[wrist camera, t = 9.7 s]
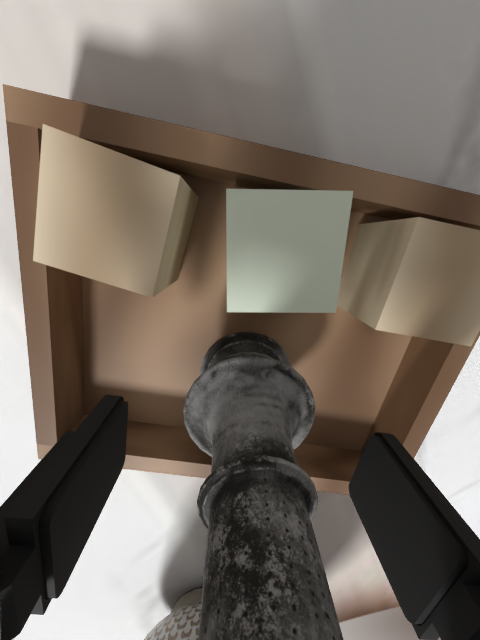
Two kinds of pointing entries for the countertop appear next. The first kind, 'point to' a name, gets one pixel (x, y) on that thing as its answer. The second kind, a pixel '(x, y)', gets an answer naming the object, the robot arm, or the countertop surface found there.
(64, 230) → the cube
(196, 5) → the countertop surface
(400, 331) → the cube
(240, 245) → the cube
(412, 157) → the countertop surface
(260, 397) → the salt shaker
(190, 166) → the tray
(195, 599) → the planter
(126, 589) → the countertop surface
